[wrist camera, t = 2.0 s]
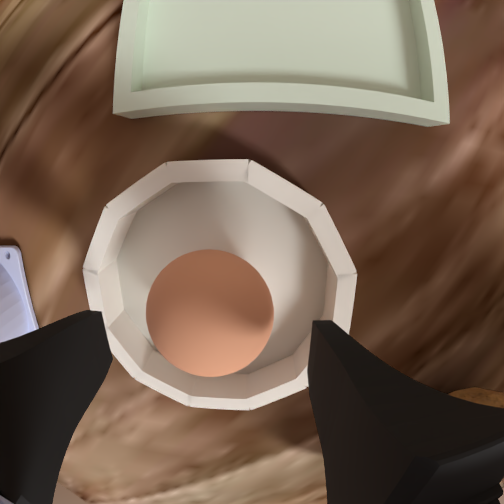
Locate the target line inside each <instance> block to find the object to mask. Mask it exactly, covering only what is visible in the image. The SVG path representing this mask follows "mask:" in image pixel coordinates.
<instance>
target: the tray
mask: <svg viewBox="0 0 504 504" xmlns="http://www.w3.org/2000/svg"><path fill="white" fill-rule="evenodd" d="M221 111H291V112H312V113H327V114H339V115H350V116H359V117H368V118H376V119H383V120H391V121H397V122H403V123H410V124H415V125H421V126H426V127H430V126H437V125H444V124H450V117H449V98H448V86H447V75H446V66H445V58H444V51H443V45H442V38H441V33H440V27H439V22H438V17H437V12H436V8H435V4H434V0H124V2H123V8H122V14H121V21H120V28H119V36H118V44H117V54H116V65H115V78H114V95H113V114H116V115H119V116H123V117H126V118H130V119H136V118H144V117H152V116H162V115H172V114H185V113H200V112H221Z"/></svg>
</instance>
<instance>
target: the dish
mask: <svg viewBox="0 0 504 504" xmlns="http://www.w3.org/2000/svg"><path fill="white" fill-rule="evenodd" d="M206 249H212V250H220V251H225V252H229V253H231V254H234V255H236V256H238V257H240V258H242V259H244V260H245V261H247V262H248V263H249V264H251V265H252V266H253V267H254V268H255V269H256V270H257V271H258V272H259V273H260V275H261V276H262V278H263V279H264V281H265V282H266V284H267V286H268V288H269V291H270V293H271V296H272V301H273V306H274V321H273V328H272V331H271V335H270V337H269V340H268V342H267V344H266V346H265V347H264V349H263V350H262V352H261V353H260V354H259V355H258V356H257V358H256V359H255V360H253V361H252V362H251V363H250V364H249V365H247V366H246V367H244V368H243V369H241V370H239V371H237V372H234V373H231V374H228V375H224V376H219V377H203V376H197V375H193V374H190V373H187V372H185V371H183V370H181V369H179V368H177V367H175V366H174V365H173V364H171V363H170V362H169V361H167V360H166V359H165V358H164V357H163V356H162V354H161V353H160V352H159V351H158V349H157V348H156V346H155V345H154V343H153V341H152V339H151V336H150V334H149V331H148V327H147V322H146V302H147V298H148V294H149V291H150V288H151V286H152V284H153V282H154V280H155V279H156V277H157V276H158V274H159V273H160V272H161V271H162V270H163V269H164V268H165V267H166V266H167V265H168V264H169V263H170V262H172V261H173V260H175V259H176V258H178V257H180V256H182V255H184V254H187V253H190V252H193V251H197V250H206ZM83 268H84V269H83V275H84V280H85V286H86V291H87V296H88V301H89V306H90V310H93V311H102V316H103V320H104V325H105V329H106V334H107V338H108V342H109V346H110V350H111V352H112V353H113V354H114V356H115V357H116V358H117V359H118V360H119V362H120V363H121V364H122V365H123V367H124V368H125V369H126V370H127V371H128V373H129V374H130V375H131V376H132V377H133V378H134V377H135V380H137V381H139V382H141V383H143V384H145V385H146V386H148V387H150V388H152V389H154V390H156V391H158V392H160V393H162V394H164V395H166V396H168V397H170V398H172V399H174V400H176V401H178V402H180V403H182V404H184V405H186V406H188V405H190V407H199V408H212V409H229V410H249V408H250V409H251V410H252V409H255V408H258V407H261V406H263V405H266V404H269V403H271V402H274V401H276V400H279V399H281V398H284V397H286V396H289V395H291V394H294V393H296V392H298V391H301V390H303V389H306V386H307V387H308V375H307V367H308V359H309V350H310V341H311V332H312V321H313V320H332V321H333V322H335V323H336V324H337V325H338V326H339V327H340V328H342V329H343V330H344V331H345V332H346V333H347V334H349V331H350V324H351V318H352V311H353V304H354V297H355V289H356V281H357V273H356V272H357V271H356V269H355V266H354V264H353V262H352V260H351V258H350V256H349V254H348V251H347V249H346V247H345V245H344V243H343V241H342V239H341V237H340V235H339V233H338V231H337V229H336V227H335V225H334V223H333V221H332V219H331V217H330V215H329V213H328V211H327V209H326V207H325V205H324V204H323V203H322V202H321V201H319V200H318V199H316V198H315V197H313V196H312V195H310V194H308V193H307V192H305V191H304V190H302V189H300V188H299V187H297V186H295V185H294V184H292V183H290V182H289V181H287V180H285V179H284V178H282V177H280V176H279V175H277V174H275V173H274V172H272V171H270V170H269V169H267V168H265V167H263V166H262V165H260V164H258V163H256V162H255V161H253V160H251V161H250V160H249V159H222V160H190V161H170V162H167V163H163V164H162V165H160V166H159V167H157V168H156V169H154V170H153V171H151V172H150V173H149V174H147V175H146V176H144V177H143V178H141V179H140V180H139V181H137V182H136V183H134V184H133V185H132V186H130V187H129V188H128V189H126V190H125V191H124V192H122V193H121V194H119V195H118V196H117V197H115V198H114V199H113V200H112V201H110V202H109V203H108V204H106V206H105V207H104V209H103V212H102V214H101V217H100V220H99V222H98V225H97V228H96V230H95V233H94V236H93V238H92V241H91V244H90V247H89V250H88V253H87V256H86V259H85V262H84V265H83Z"/></svg>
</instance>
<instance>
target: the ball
mask: <svg viewBox="0 0 504 504" xmlns="http://www.w3.org/2000/svg"><path fill="white" fill-rule="evenodd" d="M273 321H274V306H273V301H272V296H271V293H270V291H269V288H268V286H267V284H266V282H265V281H264V279H263V278H262V276H261V275H260V273H259V272H258V271H257V270H256V269H255V268H254V267H253V266H252V265H251V264H249V263H248V262H247V261H245V260H244V259H242V258H240V257H238V256H236V255H234V254H231V253H229V252H225V251H220V250H212V249H206V250H197V251H193V252H190V253H187V254H184V255H182V256H180V257H178V258H176V259H175V260H173V261H172V262H170V263H169V264H168V265H167V266H166V267H165V268H164V269H163V270H162V271H161V272H160V273H159V274H158V276H157V277H156V279H155V280H154V282H153V284H152V286H151V288H150V291H149V294H148V298H147V302H146V322H147V327H148V331H149V334H150V336H151V339H152V341H153V343H154V345H155V346H156V348H157V349H158V351H159V352H160V353H161V354H162V356H163V357H164V358H165V359H166V360H167V361H169V362H170V363H171V364H173V365H174V366H175V367H177V368H179V369H181V370H183V371H185V372H187V373H190V374H193V375H197V376H203V377H219V376H224V375H228V374H231V373H234V372H237V371H239V370H241V369H243V368H244V367H246V366H247V365H249V364H250V363H251V362H252V361H253V360H255V359H256V358H257V356H258V355H259V354H260V353H261V352H262V350H263V349H264V347H265V346H266V344H267V342H268V340H269V337H270V335H271V331H272V328H273Z"/></svg>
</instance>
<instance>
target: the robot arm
mask: <svg viewBox="0 0 504 504" xmlns="http://www.w3.org/2000/svg"><path fill="white" fill-rule="evenodd" d="M9 253H10V255H9ZM112 360H113V358H112V354H111V350H110V346H109V342H108V338H107V334H106V329H105V325H104V320H103V316H102V311H93V310H86V311H82V312H79V313H76V314H73V315H71V316H68V317H66V318H63V319H61V320H58V321H56V322H54V323H51V324H49V325H47V326H44V327H42V328H39V327H38V324H37V320H36V317H35V313H34V310H33V306H32V302H31V298H30V294H29V290H28V286H27V281H26V277H25V272H24V267H23V262H22V256H21V252H20V249H19V248H18V247H17V246H0V504H52V503H53V497H54V492H55V487H56V483H57V479H58V475H59V471H60V468H61V465H62V462H63V459H64V456H65V453H66V450H67V448H68V445H69V443H70V440H71V438H72V435H73V433H74V431H75V429H76V427H77V425H78V423H79V422H80V420H81V418H82V416H83V415H84V413H85V411H86V410H87V408H88V406H89V405H90V403H91V402H92V400H93V398H94V397H95V395H96V393H97V392H98V390H99V388H100V387H101V385H102V383H103V381H104V379H105V377H106V375H107V373H108V370H109V368H110V365H111V363H112ZM307 375H308V386H309V395H310V400H311V404H312V409H313V413H314V417H315V421H316V426H317V430H318V434H319V438H320V443H321V447H322V452H323V458H324V466H325V477H326V489H327V504H500V502H499V500H498V498H499V497H500V496H502V495H503V490H502V488H501V486H500V484H499V483H500V481H501V480H502V479H503V478H504V408H500V407H494V406H488V405H483V404H478V403H474V402H470V401H467V400H463V399H460V398H457V397H454V396H451V395H448V394H445V393H442V392H440V391H438V390H435V389H433V388H430V387H428V386H426V385H423V384H421V383H419V382H417V381H415V380H413V379H411V378H410V377H408V376H406V375H404V374H402V373H401V372H399V371H397V370H395V369H394V368H392V367H391V366H389V365H388V364H386V363H385V362H383V361H382V360H380V359H379V358H378V357H376V356H375V355H373V354H372V353H371V352H369V351H368V350H367V349H366V348H364V347H363V346H362V345H361V344H359V343H358V342H357V341H356V340H354V339H353V338H352V337H351V336H350V335H349V334H347V333H346V332H345V331H344V330H343V329H342V328H340V327H339V326H338V325H337V324H336V323H335V322H333V321H332V320H313V321H312V332H311V341H310V350H309V359H308V367H307Z"/></svg>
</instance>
